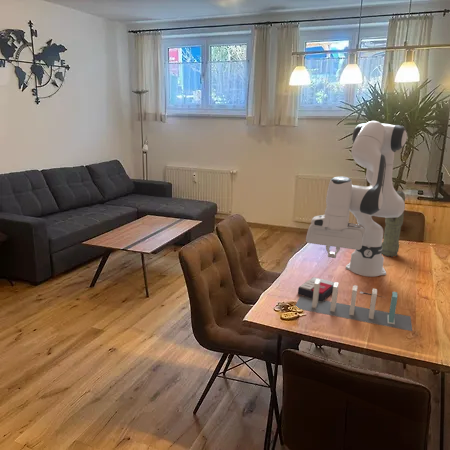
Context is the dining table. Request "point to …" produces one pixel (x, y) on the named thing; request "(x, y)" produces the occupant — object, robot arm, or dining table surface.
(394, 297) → the domino
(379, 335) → the dining table surface
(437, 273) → the dining table surface
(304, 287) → the calculator
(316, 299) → the domino
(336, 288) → the domino
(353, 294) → the domino
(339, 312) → the domino mat
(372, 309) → the domino
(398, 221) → the thermos
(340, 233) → the robot arm
